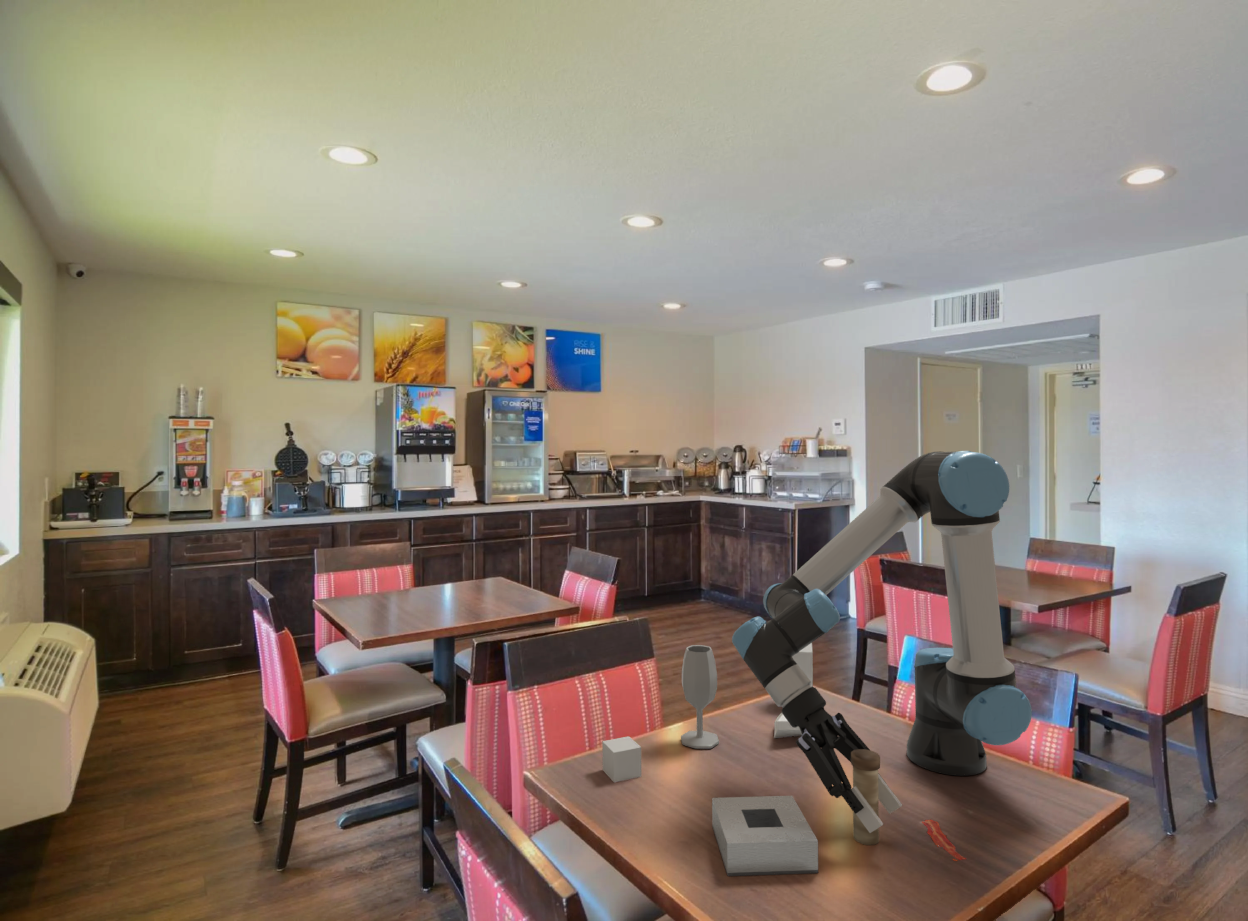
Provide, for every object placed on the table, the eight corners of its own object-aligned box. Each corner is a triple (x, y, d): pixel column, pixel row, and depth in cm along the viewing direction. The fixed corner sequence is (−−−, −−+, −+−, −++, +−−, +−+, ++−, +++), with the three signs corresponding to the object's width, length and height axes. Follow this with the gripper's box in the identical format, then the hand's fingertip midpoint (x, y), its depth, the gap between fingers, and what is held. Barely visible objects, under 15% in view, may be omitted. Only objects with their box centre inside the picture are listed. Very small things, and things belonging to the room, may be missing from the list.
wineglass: (676, 747, 151) (675, 652, 151) (685, 732, 160) (684, 641, 159) (715, 752, 148) (714, 655, 148) (722, 736, 157) (722, 644, 157)
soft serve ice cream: (756, 734, 162) (755, 671, 165) (815, 735, 164) (813, 672, 168) (778, 742, 150) (776, 673, 153) (841, 742, 152) (838, 675, 156)
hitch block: (792, 824, 119) (792, 795, 119) (818, 873, 105) (817, 840, 105) (712, 826, 119) (712, 797, 119) (727, 876, 105) (727, 843, 105)
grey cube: (602, 770, 141) (602, 741, 141) (629, 764, 143) (628, 736, 143) (614, 782, 135) (613, 752, 135) (641, 776, 138) (641, 747, 138)
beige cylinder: (874, 830, 117) (873, 748, 117) (885, 845, 113) (884, 760, 112) (847, 831, 117) (846, 749, 117) (857, 846, 112) (857, 761, 112)
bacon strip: (949, 863, 108) (949, 859, 108) (908, 813, 123) (908, 810, 123) (972, 862, 108) (972, 858, 108) (929, 813, 123) (929, 809, 123)
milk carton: (813, 712, 171) (812, 636, 171) (783, 710, 172) (783, 635, 172) (811, 702, 178) (810, 629, 178) (782, 700, 179) (782, 628, 179)
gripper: (809, 693, 133) (894, 806, 122) (753, 724, 118) (843, 855, 107) (835, 672, 129) (925, 785, 118) (780, 700, 114) (877, 833, 103)
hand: (886, 818), depth 112 cm, fingers open, 7 cm apart
